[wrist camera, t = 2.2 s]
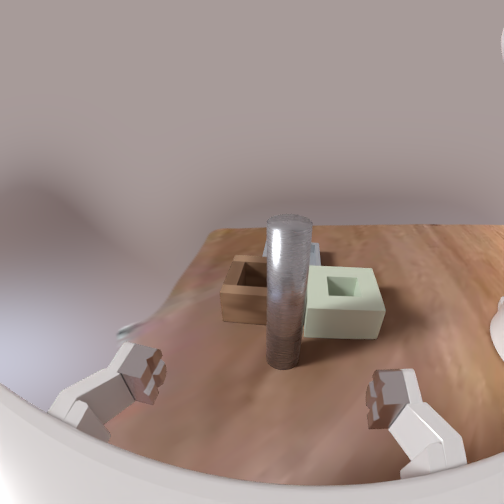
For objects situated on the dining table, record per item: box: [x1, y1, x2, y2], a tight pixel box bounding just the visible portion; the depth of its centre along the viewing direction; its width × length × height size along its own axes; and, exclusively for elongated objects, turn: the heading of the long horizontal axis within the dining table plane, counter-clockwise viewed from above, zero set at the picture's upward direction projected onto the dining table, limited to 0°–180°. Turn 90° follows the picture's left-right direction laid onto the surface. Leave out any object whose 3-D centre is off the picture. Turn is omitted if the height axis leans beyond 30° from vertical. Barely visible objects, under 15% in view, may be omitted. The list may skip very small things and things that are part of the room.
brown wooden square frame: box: [220, 255, 267, 325], centre depth 34 cm, size 8×8×4 cm
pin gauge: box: [266, 214, 312, 370], centre depth 24 cm, size 3×3×14 cm
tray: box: [263, 241, 321, 266], centre depth 41 cm, size 8×8×2 cm
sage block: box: [304, 265, 386, 339], centre depth 31 cm, size 8×8×4 cm
